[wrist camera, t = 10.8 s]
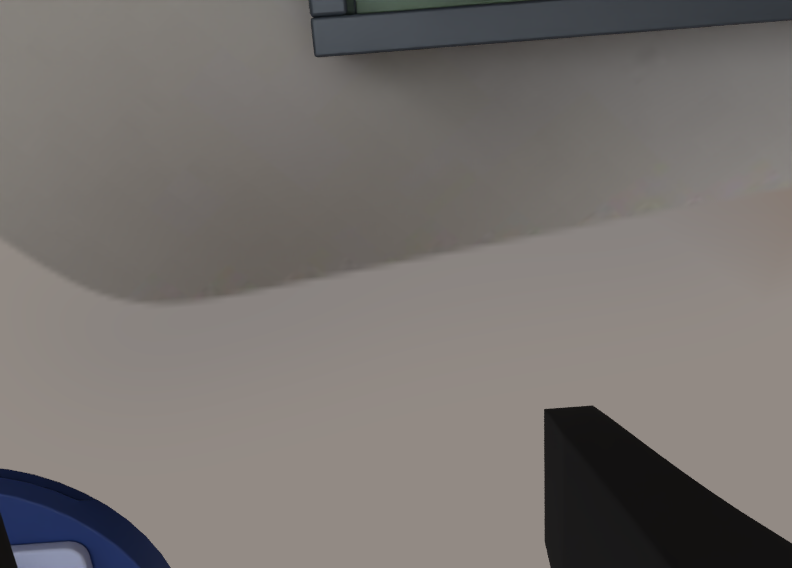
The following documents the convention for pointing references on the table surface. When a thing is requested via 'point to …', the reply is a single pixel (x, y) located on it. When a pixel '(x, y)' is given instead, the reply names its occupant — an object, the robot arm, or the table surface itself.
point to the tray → (513, 20)
